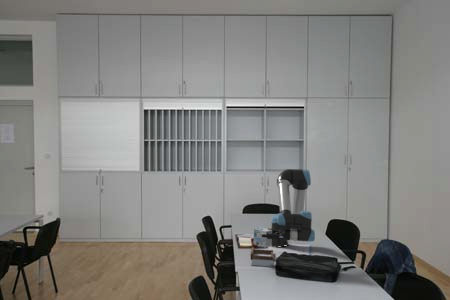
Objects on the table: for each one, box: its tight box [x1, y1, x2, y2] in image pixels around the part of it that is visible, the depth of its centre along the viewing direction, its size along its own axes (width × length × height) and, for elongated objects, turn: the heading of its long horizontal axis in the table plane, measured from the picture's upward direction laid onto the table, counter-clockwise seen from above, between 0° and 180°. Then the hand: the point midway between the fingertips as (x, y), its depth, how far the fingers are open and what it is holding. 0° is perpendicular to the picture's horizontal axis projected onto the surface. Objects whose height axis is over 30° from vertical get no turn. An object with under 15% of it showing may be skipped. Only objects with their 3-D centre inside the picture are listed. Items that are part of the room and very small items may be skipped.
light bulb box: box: [253, 226, 273, 249], centre depth 230 cm, size 11×7×11 cm, turn 45°
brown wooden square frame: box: [250, 246, 274, 261], centre depth 245 cm, size 16×16×4 cm
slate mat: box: [250, 259, 274, 268], centre depth 230 cm, size 12×14×1 cm
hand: (257, 232), depth 231 cm, fingers closed on light bulb box, 11 cm apart
